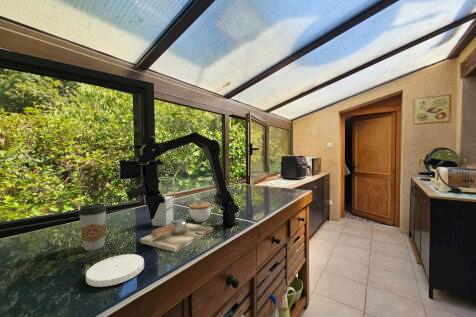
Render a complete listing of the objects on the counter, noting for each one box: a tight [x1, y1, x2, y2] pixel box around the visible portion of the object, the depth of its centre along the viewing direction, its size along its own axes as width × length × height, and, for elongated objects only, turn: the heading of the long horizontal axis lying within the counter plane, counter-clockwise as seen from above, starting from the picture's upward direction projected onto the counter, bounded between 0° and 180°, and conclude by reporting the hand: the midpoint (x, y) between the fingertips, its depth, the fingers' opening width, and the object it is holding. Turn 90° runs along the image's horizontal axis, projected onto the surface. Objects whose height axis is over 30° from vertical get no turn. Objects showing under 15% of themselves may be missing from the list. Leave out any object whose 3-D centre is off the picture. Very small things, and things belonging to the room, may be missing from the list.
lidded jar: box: [188, 200, 212, 223], centre depth 108 cm, size 11×11×9 cm
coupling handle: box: [151, 218, 187, 237], centre depth 82 cm, size 15×6×4 cm, turn 151°
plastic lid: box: [85, 253, 145, 288], centre depth 60 cm, size 14×14×2 cm
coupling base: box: [139, 222, 214, 253], centre depth 86 cm, size 22×18×2 cm
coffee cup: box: [78, 203, 107, 252], centre depth 78 cm, size 8×8×15 cm
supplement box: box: [151, 195, 174, 227], centre depth 103 cm, size 7×7×13 cm
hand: (152, 218), depth 81 cm, fingers closed
